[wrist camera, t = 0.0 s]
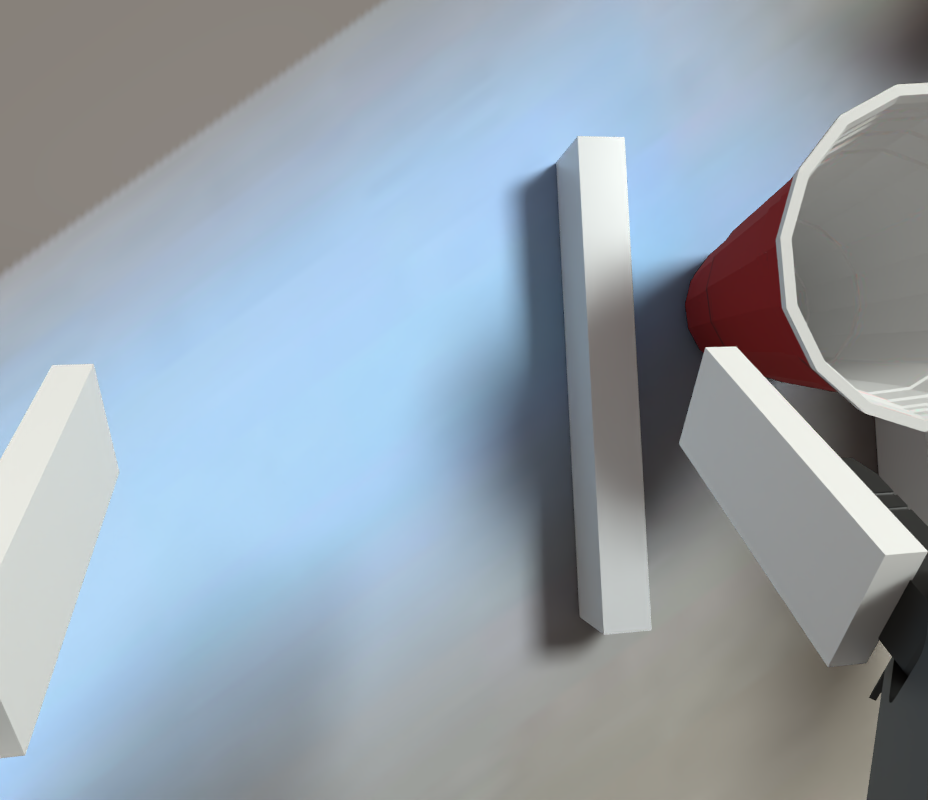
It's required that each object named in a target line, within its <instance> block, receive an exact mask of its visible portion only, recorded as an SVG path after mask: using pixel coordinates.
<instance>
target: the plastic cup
mask: <svg viewBox="0 0 928 800" xmlns="http://www.w3.org/2000/svg"><path fill="white" fill-rule="evenodd" d="M685 308H686V316H687V323H688V329H689V331H690V333H691V334H692V336H693V338H694V340H695V342H696V344H697V345H698V347H699V349H700V350H701V351H702V352H703V353H704V350H705V347H737V348H738V349H739V350H740V351H741V352H742V353H743V354H744V355H745V357H746V358H747V359H748V360H749V361H750V362H751V363H752V364H753V365H754V366H755V367H756V368H757V369H758V370H759V371H760V373H761V374H762V375H763V376H764V377H767V378H770V379H774V380H777V381H780V382H785V383H790V384H796V385H801V386H807V387H812V388H817V389H823V390H828V391H834V392H838V393H840V394H841V395H842V396H843V397H844V398H846V399H847V400H848V401H849V402H850V403H851V404H852V405H853V406H855V407H856V408H857V409H858V410H860V411H862V412H863V413H865V414H868V415H872V416H875V417H878V418H881V419H884V420H888V421H891V422H894V423H897V424H900V425H904V426H907V427H910V428H913V429H916V430H919V431H923V432H926V431H928V83H914V84H896V85H894V86H893V87H891V88H889V89H887V90H885V91H884V92H882V93H880V94H878V95H876V96H874V97H873V98H871V99H869V100H867V101H865V102H864V103H862V104H860V105H858V106H856V107H854V108H853V109H851V110H849V111H847V112H845V113H844V114H842V115H840V116H839V117H838V118H837V120H836V121H835V122H834V123H833V124H832V125H831V127H830V128H829V129H828V131H827V132H826V133H825V135H824V136H823V137H822V138H821V140H820V141H819V142H818V144H817V145H816V146H815V148H814V149H813V150H812V152H811V153H810V154H809V156H808V157H807V158H806V159H805V161H804V162H803V163H802V165H801V166H800V167H799V169H798V170H797V171H796V173H795V174H794V176H793V177H792V178H791V180H790V181H788V182H787V183H786V184H785V185H784V186H783V187H782V188H781V189H779V190H778V191H777V192H776V193H775V194H774V195H773V196H772V197H770V198H769V199H768V200H767V201H766V202H765V203H764V204H763V205H761V206H760V207H759V208H758V209H757V210H756V211H755V212H754V213H753V214H751V215H750V216H749V217H748V218H747V219H746V220H745V221H744V222H742V223H741V224H740V225H739V226H738V227H737V228H736V229H735V230H733V231H732V233H731V234H730V235H729V237H728V238H727V240H726V241H725V242H724V243H722V244H721V245H720V246H719V247H718V248H717V249H716V250H715V251H713V252H712V253H711V254H710V255H709V256H708V257H707V259H706V260H705V261H704V263H703V264H702V265H701V267H700V268H699V269H698V271H697V272H696V273H695V275H694V277H693V279H692V280H691V282H690V286H689V290H688V294H687V298H686V302H685Z"/></svg>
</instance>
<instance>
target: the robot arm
mask: <svg viewBox="0 0 928 800" xmlns="http://www.w3.org/2000/svg"><path fill="white" fill-rule="evenodd" d="M679 445H680V446H681V448H682V449H683V451H684V452H685V454H686V455H687V457H688V458H689V460H690V461H691V463H692V464H693V466H694V467H695V469H696V470H697V472H698V473H699V475H700V476H701V478H702V479H703V481H704V482H705V484H706V485H707V487H708V488H709V490H710V491H711V493H712V494H713V496H714V497H715V499H716V500H717V502H718V503H719V505H720V506H721V508H722V509H723V511H724V512H725V514H726V515H727V517H728V518H729V520H730V521H731V523H732V524H733V526H734V527H735V529H736V530H737V532H738V533H739V535H740V536H741V538H742V539H743V541H744V542H745V544H746V545H747V547H748V548H749V550H750V551H751V553H752V554H753V556H754V557H755V559H756V560H757V562H758V563H759V565H760V566H761V568H762V569H763V571H764V572H765V574H766V575H767V577H768V578H769V580H770V581H771V583H772V584H773V586H774V587H775V589H776V590H777V592H778V593H779V595H780V596H781V598H782V599H783V601H784V602H785V604H786V605H787V607H788V608H789V610H790V611H791V613H792V614H793V616H794V617H795V619H796V620H797V622H798V623H799V625H800V626H801V628H802V629H803V631H804V632H805V634H806V635H807V637H808V638H809V640H810V641H811V643H812V644H813V646H814V647H815V649H816V650H817V652H818V653H819V655H820V656H821V658H822V659H823V661H824V662H825V664H826V665H827V667H835V666H844V665H853V664H863V663H867V661H868V659H869V657H870V656H871V654H872V652H873V650H874V648H875V647H876V645H877V643H878V641H879V640H880V641H881V642H882V644H883V645H884V646H885V648H886V649H887V650H888V652H889V653H890V654H891V656H892V658H891V660H890V662H889V663H888V665H887V667H886V668H885V670H884V672H883V674H882V675H881V677H880V679H879V681H878V682H877V684H876V686H875V687H874V689H873V691H872V693H871V695H870V697H869V698H871V699H873V700H875V701H876V700H877V698H878V696H879V694H880V693H882V694H881V701H880V708H879V716H878V723H877V730H876V737H875V744H874V751H873V758H872V765H871V773H870V780H869V787H868V794H867V800H928V526H927V525H926V524H925V523H924V522H923V521H922V520H921V519H920V518H919V517H918V515H917V514H916V513H915V512H914V511H913V510H912V509H910V510H909V509H908V505H907V504H906V503H905V502H904V501H903V500H902V499H901V498H900V497H899V496H898V495H894V491H893V490H892V489H891V488H890V487H889V486H888V485H887V484H886V483H885V482H884V481H883V480H882V479H881V477H880V476H879V475H878V474H877V473H875V472H874V471H872V470H870V469H869V468H867V467H866V466H864V465H863V464H861V463H859V462H858V461H856V460H855V459H853V458H840V457H839V456H838V455H837V454H836V453H835V452H834V451H833V449H832V448H831V447H830V446H829V445H828V444H827V443H826V442H825V441H824V440H823V439H822V438H821V437H820V436H819V434H818V433H817V432H816V431H815V430H814V429H813V428H812V427H811V426H810V425H809V424H808V423H807V422H806V421H805V420H804V418H803V417H802V416H801V415H800V414H799V413H798V412H797V411H796V410H795V409H794V408H793V407H792V406H791V405H790V404H789V402H788V401H787V400H786V399H785V398H784V397H783V396H782V395H781V394H780V393H779V392H778V391H777V390H776V389H775V387H774V386H773V385H772V384H771V383H770V382H769V381H768V380H767V379H766V378H765V377H764V376H763V375H762V374H761V373H760V371H759V370H758V369H757V368H756V367H755V366H754V365H753V364H752V363H751V362H750V361H749V360H748V359H747V358H746V357H745V355H744V354H743V353H742V352H741V351H740V350H739V349H738V348H737V347H705V350H704V354H703V358H702V361H701V365H700V369H699V372H698V376H697V380H696V383H695V387H694V390H693V394H692V398H691V401H690V405H689V409H688V412H687V416H686V420H685V423H684V427H683V431H682V434H681V438H680V441H679ZM118 475H119V469H118V465H117V460H116V456H115V452H114V448H113V444H112V439H111V435H110V431H109V427H108V422H107V418H106V414H105V410H104V406H103V401H102V397H101V393H100V389H99V384H98V380H97V376H96V372H95V368H94V364H78V365H52V366H51V368H50V370H49V372H48V374H47V376H46V377H45V379H44V381H43V383H42V385H41V386H40V388H39V390H38V392H37V394H36V396H35V397H34V399H33V401H32V403H31V405H30V406H29V408H28V410H27V412H26V414H25V416H24V417H23V419H22V421H21V423H20V425H19V426H18V428H17V430H16V432H15V434H14V436H13V437H12V439H11V441H10V443H9V445H8V446H7V448H6V450H5V452H4V454H3V456H2V457H1V459H0V758H6V757H15V756H24V755H25V754H26V751H27V748H28V745H29V742H30V739H31V736H32V733H33V730H34V727H35V724H36V721H37V718H38V715H39V712H40V709H41V706H42V703H43V700H44V697H45V694H46V691H47V688H48V685H49V682H50V679H51V676H52V673H53V670H54V667H55V664H56V661H57V658H58V655H59V652H60V649H61V646H62V643H63V640H64V637H65V634H66V631H67V628H68V625H69V622H70V619H71V616H72V613H73V610H74V607H75V604H76V601H77V598H78V595H79V592H80V589H81V586H82V583H83V580H84V577H85V574H86V571H87V568H88V565H89V562H90V559H91V556H92V553H93V550H94V547H95V544H96V541H97V538H98V535H99V532H100V529H101V526H102V523H103V520H104V517H105V514H106V511H107V508H108V505H109V502H110V499H111V496H112V493H113V490H114V487H115V484H116V481H117V478H118Z"/></svg>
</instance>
